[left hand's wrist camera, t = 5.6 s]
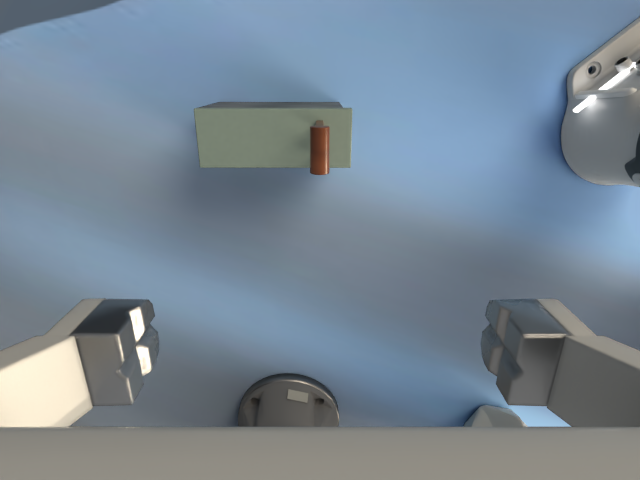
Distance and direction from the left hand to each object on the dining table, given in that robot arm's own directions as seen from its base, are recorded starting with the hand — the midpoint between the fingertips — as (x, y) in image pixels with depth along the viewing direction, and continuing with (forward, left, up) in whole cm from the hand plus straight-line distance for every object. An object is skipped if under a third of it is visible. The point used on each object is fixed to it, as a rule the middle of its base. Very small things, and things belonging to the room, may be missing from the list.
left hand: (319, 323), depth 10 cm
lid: (+3, -3, -32) cm, 33 cm away
